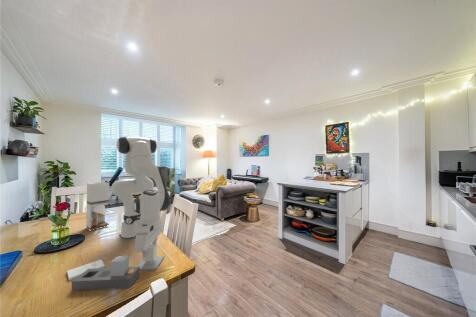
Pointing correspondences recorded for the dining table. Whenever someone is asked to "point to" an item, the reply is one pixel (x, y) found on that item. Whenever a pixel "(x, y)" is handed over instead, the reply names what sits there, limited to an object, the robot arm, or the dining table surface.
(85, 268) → the external hard drive
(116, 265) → the block
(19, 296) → the dining table surface
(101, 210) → the small white stand
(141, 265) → the rubber mat
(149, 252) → the block
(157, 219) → the robot arm
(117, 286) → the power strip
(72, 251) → the dining table surface
